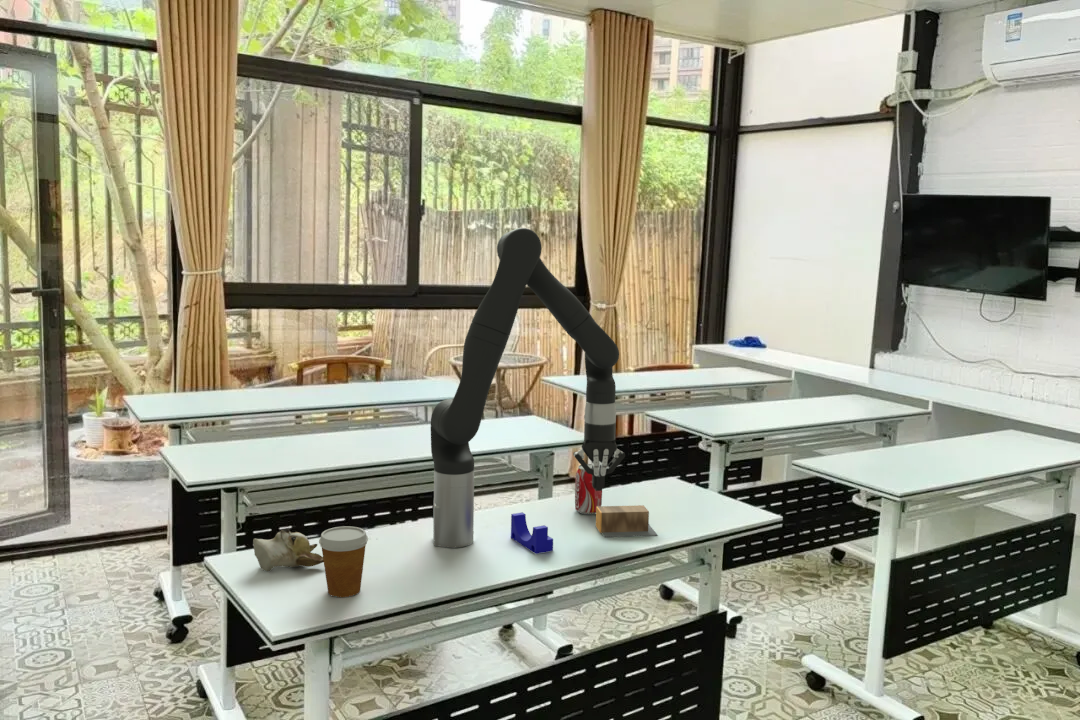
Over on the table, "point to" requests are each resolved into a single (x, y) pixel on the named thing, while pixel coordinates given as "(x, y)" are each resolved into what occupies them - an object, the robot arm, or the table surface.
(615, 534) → the rubber mat
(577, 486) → the soda can
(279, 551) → the ceramic sculpture
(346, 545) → the disposable coffee cup
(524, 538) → the cable clip
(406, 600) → the table surface
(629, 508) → the light brown wooden block
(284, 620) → the table surface
